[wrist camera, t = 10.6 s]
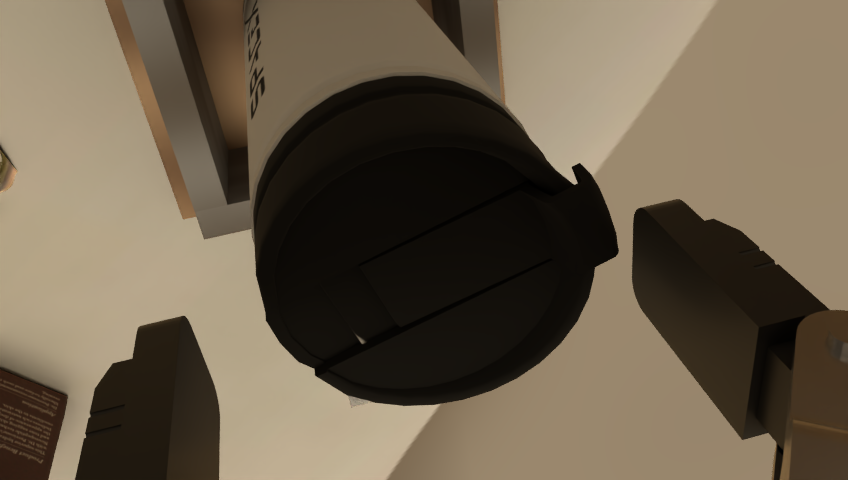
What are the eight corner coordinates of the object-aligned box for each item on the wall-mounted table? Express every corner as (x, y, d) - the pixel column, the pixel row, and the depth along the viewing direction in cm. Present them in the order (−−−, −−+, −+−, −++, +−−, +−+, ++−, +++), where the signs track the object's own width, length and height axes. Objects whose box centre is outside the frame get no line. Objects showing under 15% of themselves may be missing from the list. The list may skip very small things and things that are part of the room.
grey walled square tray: (52, -165, 26) (8, -154, 21) (471, -232, 27) (524, -236, 22) (184, 208, 34) (175, 281, 29) (502, 139, 35) (546, 197, 30)
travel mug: (432, 42, 31) (660, 335, 15) (294, 116, 32) (361, 484, 15) (365, -104, 28) (559, 57, 11) (210, -20, 28) (175, 260, 12)
